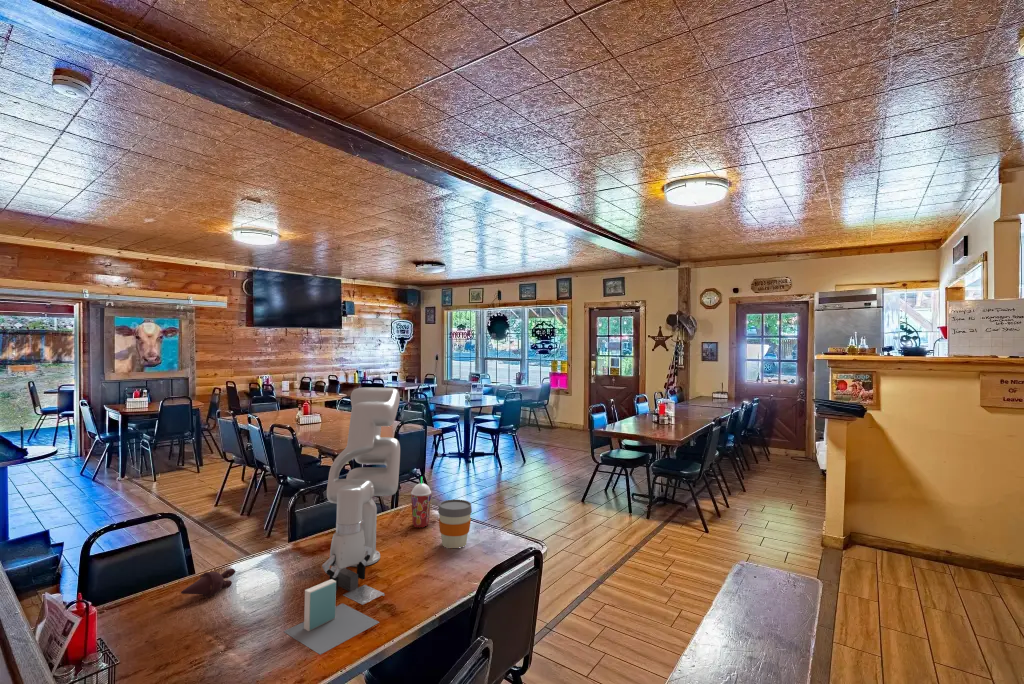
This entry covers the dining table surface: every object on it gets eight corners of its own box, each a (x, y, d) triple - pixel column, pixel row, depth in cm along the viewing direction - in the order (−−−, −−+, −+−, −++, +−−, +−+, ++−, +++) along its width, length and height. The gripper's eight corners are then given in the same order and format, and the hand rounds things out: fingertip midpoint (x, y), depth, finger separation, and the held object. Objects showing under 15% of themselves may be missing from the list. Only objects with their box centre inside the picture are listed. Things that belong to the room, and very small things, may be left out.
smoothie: (434, 523, 213) (435, 475, 213) (423, 530, 206) (424, 480, 206) (418, 520, 217) (419, 473, 217) (406, 526, 209) (407, 477, 209)
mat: (283, 633, 132) (283, 631, 132) (342, 605, 147) (342, 603, 147) (320, 657, 123) (320, 654, 123) (379, 624, 137) (379, 622, 137)
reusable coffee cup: (453, 535, 201) (454, 497, 201) (477, 543, 194) (478, 503, 194) (430, 545, 191) (431, 505, 191) (455, 554, 184) (456, 512, 184)
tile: (304, 628, 133) (304, 590, 133) (330, 615, 140) (331, 579, 140) (309, 631, 132) (310, 592, 132) (335, 618, 139) (336, 581, 139)
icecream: (190, 587, 142) (242, 572, 155) (178, 574, 146) (230, 560, 159) (184, 611, 142) (237, 594, 155) (172, 596, 146) (224, 581, 159)
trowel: (322, 587, 157) (322, 570, 157) (344, 577, 164) (345, 562, 164) (362, 607, 146) (362, 589, 146) (384, 596, 153) (384, 579, 153)
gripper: (364, 517, 165) (362, 571, 165) (316, 532, 151) (314, 590, 151) (379, 522, 161) (378, 577, 161) (332, 537, 147) (330, 598, 147)
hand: (347, 583), depth 156 cm, fingers open, 9 cm apart
